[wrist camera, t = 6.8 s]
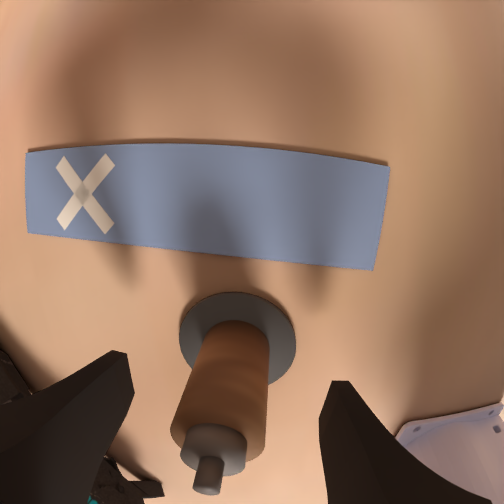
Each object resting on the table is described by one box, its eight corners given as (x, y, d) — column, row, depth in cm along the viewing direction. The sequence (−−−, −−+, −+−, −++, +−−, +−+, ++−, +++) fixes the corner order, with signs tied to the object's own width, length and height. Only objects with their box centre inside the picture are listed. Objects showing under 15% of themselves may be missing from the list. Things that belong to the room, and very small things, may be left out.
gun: (152, 496, 18) (89, 556, 9) (31, 322, 21) (-53, 340, 12) (181, 491, 17) (113, 566, 7) (45, 297, 20) (-52, 313, 11)
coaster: (304, 298, 11) (305, 302, 11) (286, 390, 13) (286, 394, 13) (179, 284, 12) (177, 287, 11) (183, 377, 13) (181, 381, 13)
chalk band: (388, 166, 10) (390, 166, 9) (371, 269, 11) (373, 270, 11) (27, 152, 10) (25, 153, 10) (29, 232, 12) (27, 233, 11)
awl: (273, 324, 11) (268, 474, 5) (265, 376, 12) (255, 512, 6) (203, 315, 12) (144, 452, 5) (203, 368, 12) (161, 497, 6)
